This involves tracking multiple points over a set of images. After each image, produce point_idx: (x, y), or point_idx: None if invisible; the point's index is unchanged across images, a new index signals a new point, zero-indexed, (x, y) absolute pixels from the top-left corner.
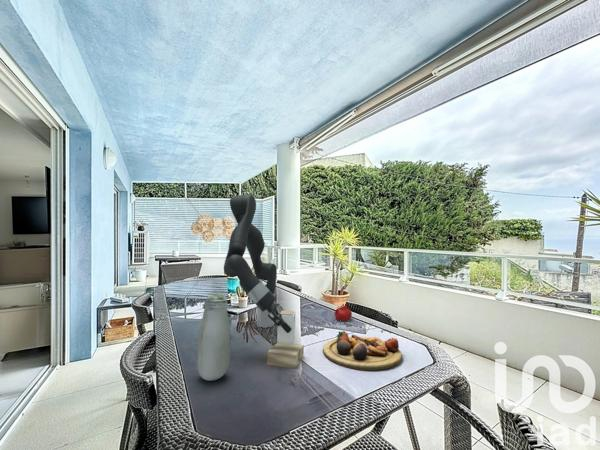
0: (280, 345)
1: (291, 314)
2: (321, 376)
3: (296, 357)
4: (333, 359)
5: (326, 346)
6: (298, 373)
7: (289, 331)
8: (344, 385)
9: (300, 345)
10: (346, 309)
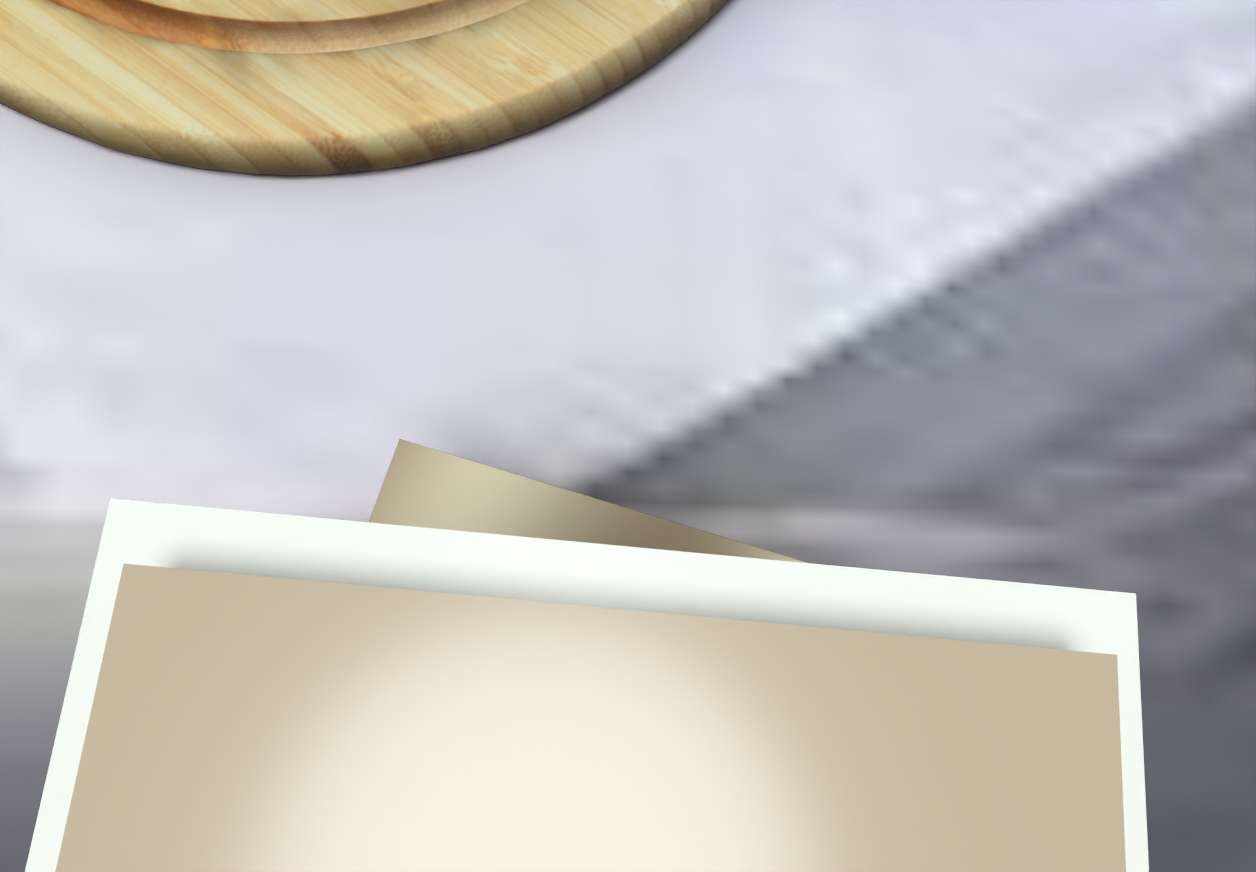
0: None
1: (1110, 753)
2: (1037, 271)
3: None
4: (636, 55)
5: (149, 88)
6: (998, 564)
7: None
8: (1204, 51)
9: (425, 500)
10: None
